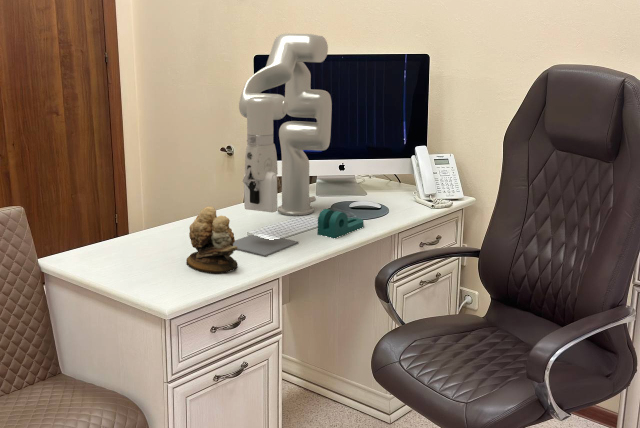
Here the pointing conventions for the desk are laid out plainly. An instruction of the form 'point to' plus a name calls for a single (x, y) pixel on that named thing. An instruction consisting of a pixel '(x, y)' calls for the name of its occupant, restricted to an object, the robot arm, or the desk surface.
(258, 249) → the mat
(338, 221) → the bracket
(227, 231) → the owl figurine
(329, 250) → the desk surface
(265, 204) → the photo printer
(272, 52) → the robot arm
